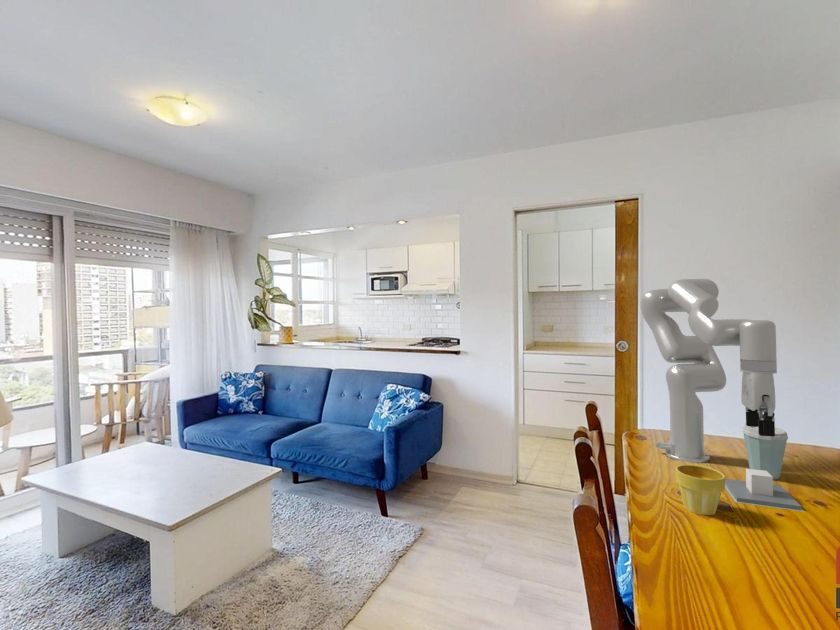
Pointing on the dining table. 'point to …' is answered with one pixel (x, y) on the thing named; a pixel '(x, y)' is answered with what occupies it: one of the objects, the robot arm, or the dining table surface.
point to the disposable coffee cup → (765, 450)
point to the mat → (758, 504)
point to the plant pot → (700, 488)
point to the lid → (761, 490)
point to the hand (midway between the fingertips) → (759, 430)
